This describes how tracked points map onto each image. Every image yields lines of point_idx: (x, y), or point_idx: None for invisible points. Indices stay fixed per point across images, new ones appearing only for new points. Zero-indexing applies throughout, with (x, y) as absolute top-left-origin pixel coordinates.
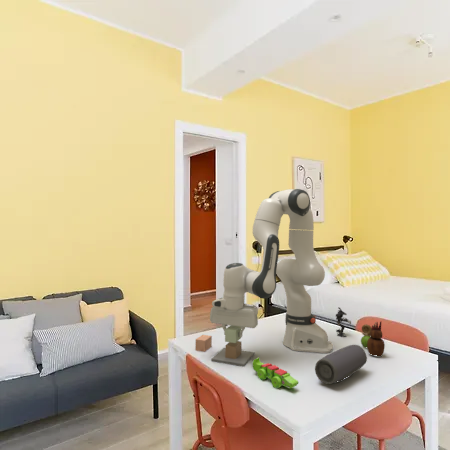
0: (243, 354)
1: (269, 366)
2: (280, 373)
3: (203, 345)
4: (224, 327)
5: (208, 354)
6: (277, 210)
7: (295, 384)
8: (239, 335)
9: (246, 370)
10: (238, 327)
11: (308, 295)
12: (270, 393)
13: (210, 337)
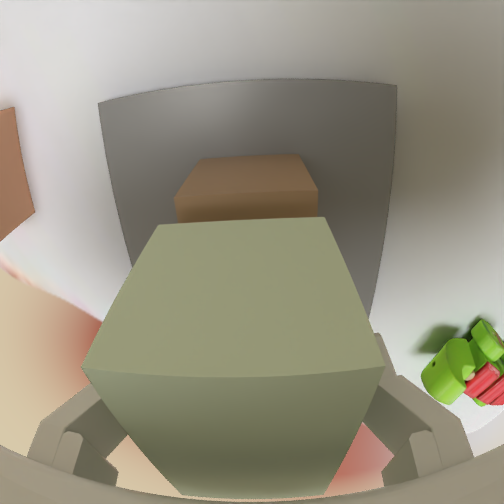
0: (324, 172)
1: (484, 400)
2: (500, 404)
3: (5, 233)
4: (102, 447)
5: (75, 237)
6: None
7: None
8: None
9: (382, 336)
10: (332, 439)
11: None
12: (451, 404)
13: None
